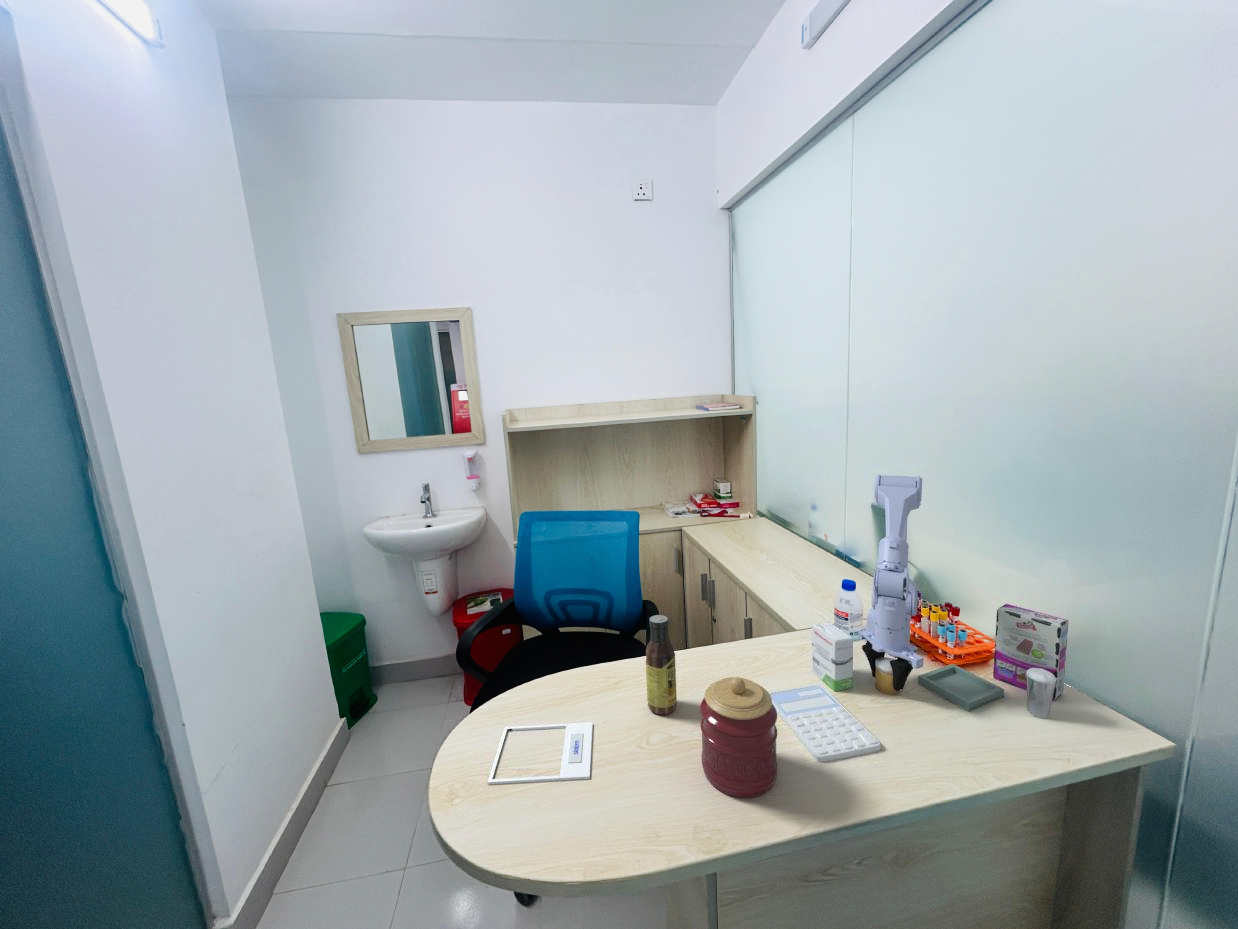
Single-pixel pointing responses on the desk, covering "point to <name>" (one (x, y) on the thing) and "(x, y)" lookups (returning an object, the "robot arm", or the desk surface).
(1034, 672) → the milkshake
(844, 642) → the ink box
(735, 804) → the desk surface
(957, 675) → the tray
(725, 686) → the canister
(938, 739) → the desk surface
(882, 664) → the pill bottle
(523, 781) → the photo frame
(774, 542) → the desk surface
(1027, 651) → the candy bar box
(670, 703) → the sauce bottle
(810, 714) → the calculator
